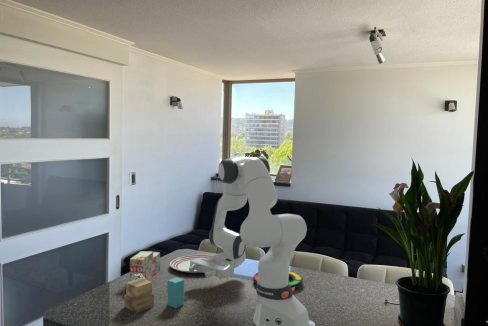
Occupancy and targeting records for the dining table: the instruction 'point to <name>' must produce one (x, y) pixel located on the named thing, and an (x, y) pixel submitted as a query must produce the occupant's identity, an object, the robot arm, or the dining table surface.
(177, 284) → the teal pillar
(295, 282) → the electronic game
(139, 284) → the oak top block
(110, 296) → the dining table surface
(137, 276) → the game die
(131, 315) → the dining table surface
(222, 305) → the dining table surface
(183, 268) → the dinner plate
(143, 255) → the stack of blocks
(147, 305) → the walnut base block
